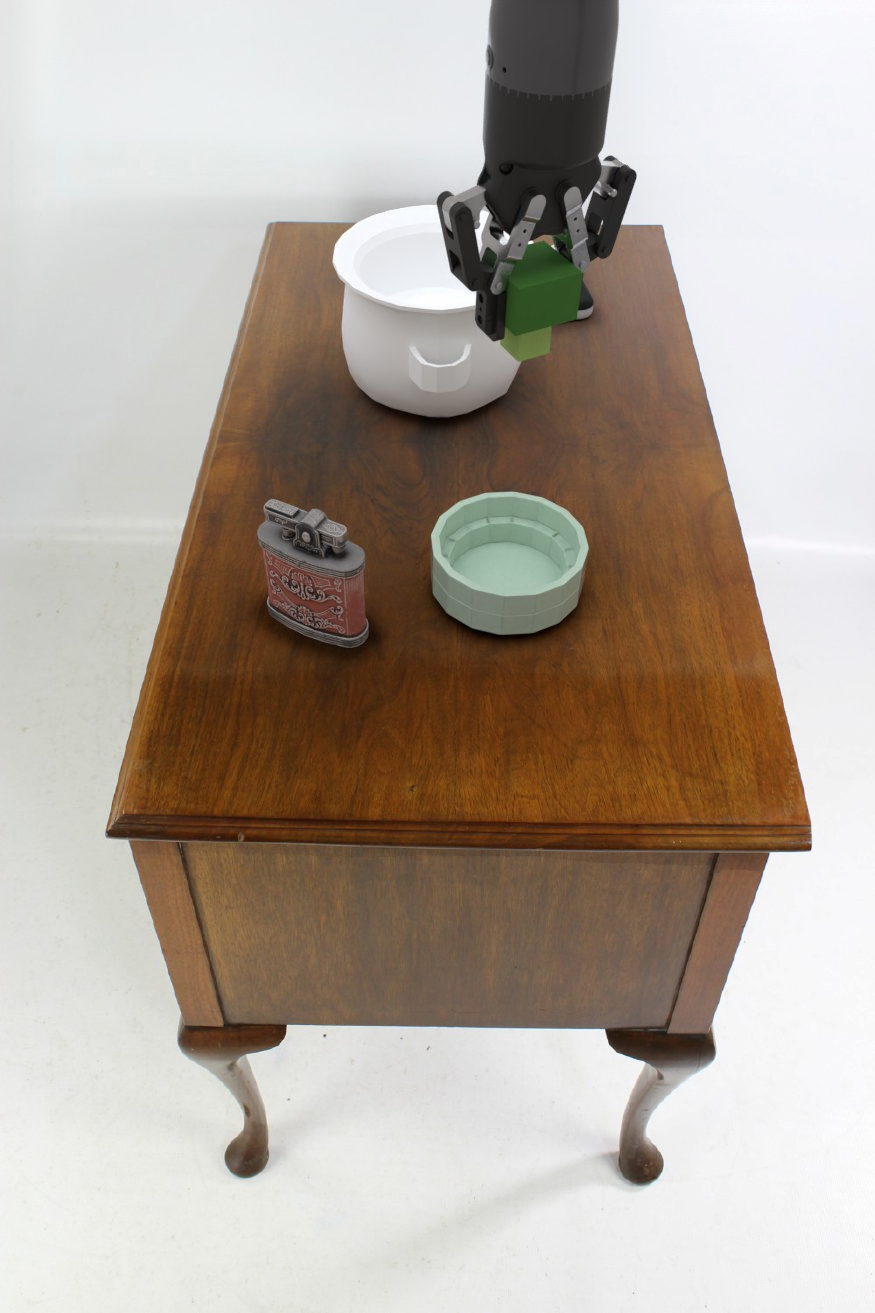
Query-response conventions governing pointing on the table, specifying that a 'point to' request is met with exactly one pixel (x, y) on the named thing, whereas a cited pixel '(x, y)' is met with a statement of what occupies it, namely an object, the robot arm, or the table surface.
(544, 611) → the bowl
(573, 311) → the broccoli
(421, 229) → the pot
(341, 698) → the table surface
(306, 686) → the table surface
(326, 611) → the lighter
